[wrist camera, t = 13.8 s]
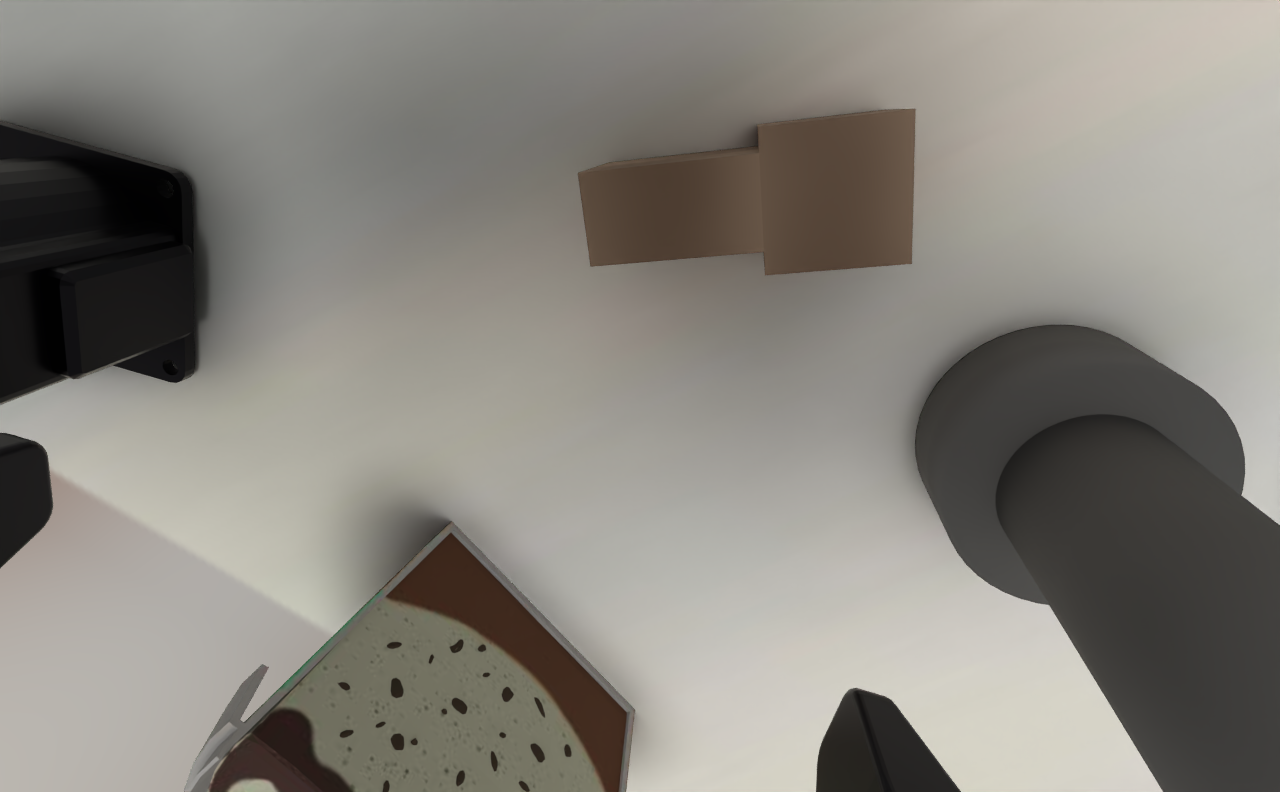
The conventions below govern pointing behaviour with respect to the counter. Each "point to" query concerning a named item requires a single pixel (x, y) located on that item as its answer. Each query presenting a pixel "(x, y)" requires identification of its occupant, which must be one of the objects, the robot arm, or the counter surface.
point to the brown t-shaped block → (765, 198)
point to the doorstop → (1121, 538)
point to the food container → (430, 698)
